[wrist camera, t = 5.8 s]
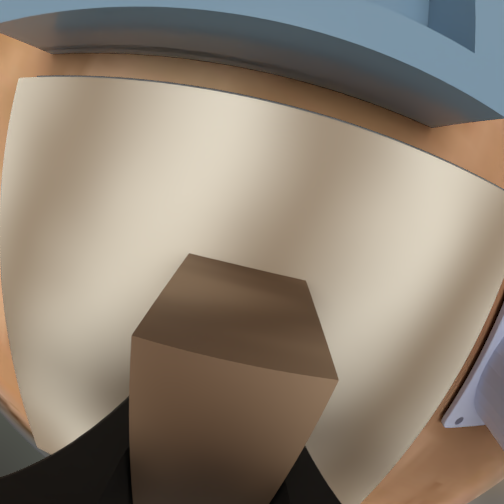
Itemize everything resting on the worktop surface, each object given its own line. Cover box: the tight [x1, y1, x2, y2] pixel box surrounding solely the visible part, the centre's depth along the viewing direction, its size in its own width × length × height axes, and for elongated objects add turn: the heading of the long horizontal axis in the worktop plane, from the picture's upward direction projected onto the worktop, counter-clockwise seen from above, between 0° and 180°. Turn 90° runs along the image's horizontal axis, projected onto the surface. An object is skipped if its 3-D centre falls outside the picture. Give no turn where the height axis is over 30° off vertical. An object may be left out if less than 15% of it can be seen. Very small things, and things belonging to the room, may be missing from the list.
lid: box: [0, 77, 504, 504], centre depth 8 cm, size 16×16×5 cm
